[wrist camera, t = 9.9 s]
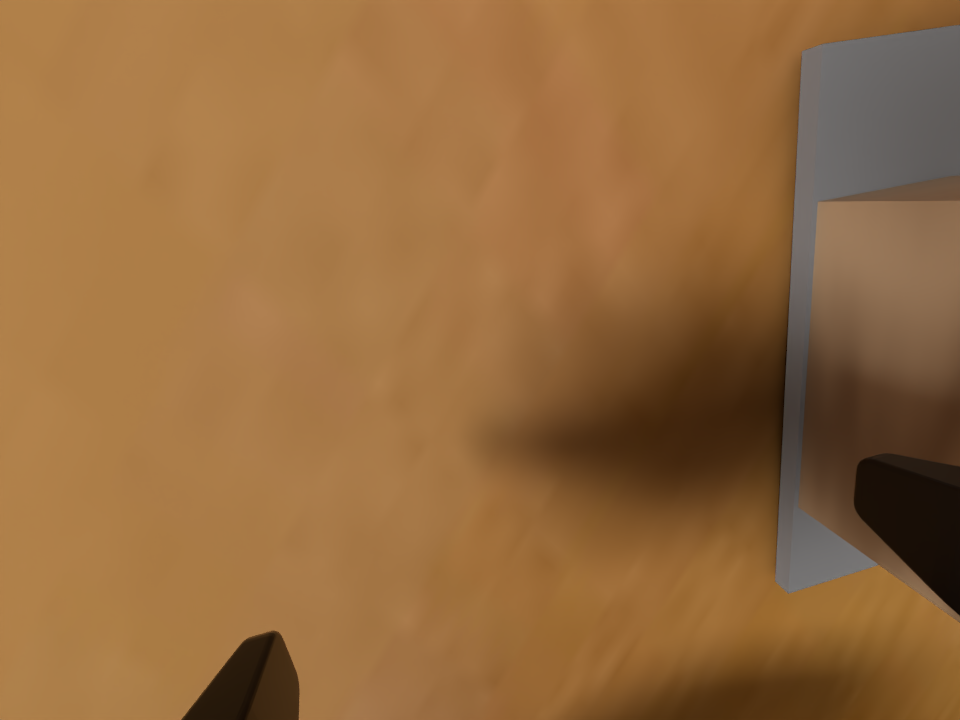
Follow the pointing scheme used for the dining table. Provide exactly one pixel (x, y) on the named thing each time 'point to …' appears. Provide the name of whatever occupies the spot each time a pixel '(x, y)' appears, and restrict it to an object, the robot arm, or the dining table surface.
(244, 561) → the dining table surface
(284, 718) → the robot arm
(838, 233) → the light brown wooden block
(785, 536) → the rubber mat
